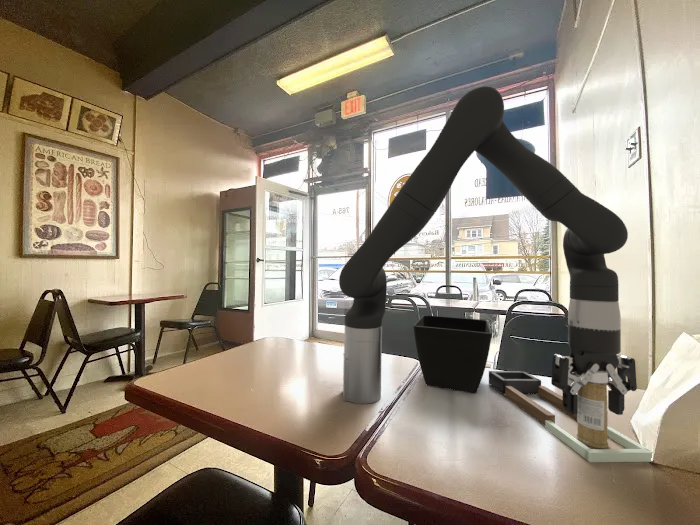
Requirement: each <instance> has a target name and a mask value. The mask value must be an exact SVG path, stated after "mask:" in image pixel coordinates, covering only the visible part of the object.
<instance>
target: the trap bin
mask: <svg viewBox="0 0 700 525" xmlns="http://www.w3.org/2000/svg"><path fill="white" fill-rule="evenodd" d="M488 385H490V386H491V387H492V388H494V389H495V391H498V392H499V393H500V394H501V395H505V386H512V387H513V388H515V389H516V390H518V391H519V392H521V393H522V394H524V395H538V386H542V380H541V379H539V378H538V377H535V376H533V375H532V374H530V373H528V372H526V371H524V370H515V371H514V370H488Z"/></svg>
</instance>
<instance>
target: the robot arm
mask: <svg viewBox="0 0 700 525" xmlns="http://www.w3.org/2000/svg"><path fill="white" fill-rule="evenodd" d="M504 103H505V102H504V99H503V96H502V95H501V93H500V92H499V91H498V90H497V89H496V88H494V87H492V86H490V85H489V86H488V85H487V86H486V85H484V86H478V87H475V88H473V89H471V90H469V91H468V92H466V93H465V94H463V96H462V97H461V98H460V99H459V100H458V101H457V102H456V104H455V106H454V107H453V109H452V111H451V113H450V115H449V117H448V118H447V121H446V122H445V124H444V126H443V128H442V129H441V131H440V133H439V134H438V137H437V138H436V140H435V141H434V143H433V145H432V146H431V147H430V149H429V150H428V152H427V153H426V155H425V156H424V157H423V158H422V159H421V161H420V162H419V163H418V165H417V166H416V167H415V168H414V170H413V172H412V173H411V174H410V176H409V177H408V179H407V180H406V181H405V182H404V184H402V186H401V188H400V189H399V190H398V192H397V194H396V195H395V197H394V198H393V200H392V201H391V203H390V204H389V205H388V208H387V209H386V210H385V211H384V213H383V215H382V216H381V218H380V219H379V221H378V222H377V223H376V225H375V226H374V227H373V229H372V231H370V234H369V235H368V237H367V238H366V239H365V240H364V241H363V243H362V244H361V245H360V246H359V248H358V249H357V250H356V251H355V252H354V253H353V255H352V256H351V257H350V258H349V259H348V260H347V262H346V263H345V264H344V266H343V267H342V269H341V271H340V274H339V278H338V284H339V289H340V291H341V292H342V294H343V295H344V296H346V297H348V298H351V299H353V302H352V305H351V307H350V309H349V310H348V311H347V312H346V313H345V315H344V344H343V345H344V346H343V372H342V373H343V375H342V381H343V382H342V383H343V384H342V395H343V396H342V398H343V401H345V402H346V401H348V402H351V403H355V404H361V405H362V404H372V403H375V402H377V401H379V400H380V399H381V398H382V356H383V355H382V352H383V351H382V350H383V349H382V344H383V341H382V340H383V336H382V335H383V320H384V315H385V313H386V308H387V307H386V304H387V291H388V290H387V289H388V286H387V285H388V284H387V283H388V281H387V274H386V271H385V269H384V267H385V265H386V263H387V262H388V261H389V259H391V257H392V256H393V255H394V254H395V253H397V252H398V251H399V250H400V249H401V248H403V247H404V246H405V245H406V244H408V243H409V242H410V241H412V240H413V239H415V237H416V236H418V234H420V233H421V231H423V229H424V228H425V227H426V226H427V224H428V223H429V222H430V220H431V219H432V218H433V217H434V215H435V213H436V212H437V211H438V209H439V208H440V207H441V205H442V203H443V201H444V200H445V198H446V196H447V194H448V193H449V191H450V189H451V187H452V185H453V183H454V181H455V179H456V177H457V176H458V174H459V172H460V171H461V169H462V167H463V166H464V164H465V163H466V162H467V161H468V159H469V158H470V157H471V156H472V154H473V153H474V152H476V153H477V154H479V156H482V157H483V158H484V159H485V160H486V161H488V162H489V163H490V164H492V165H493V167H495V168H496V169H497V170H499V171H500V173H502V175H504V177H505V178H507V179H508V181H509V182H510V183H511V184H512V185H513V186H514V188H516V189H517V190H518V192H520V193H521V195H522V196H524V198H525V199H526V200H527V201H528V202H529V203H530V204H531V205H532V206H533V207H534V208H535V209H536V210H537V211H538V212H539V213H540V214H541V215H542V216H543V218H546V219H547V220H548V221H551V222H557V223H559V224H561V225H563V226H564V227H565V228H566V230H565V231H564V235H563V238H562V239H563V240H562V247H563V248H562V249H563V255H564V258H565V264H566V267H567V270H568V274H569V304H568V310H567V311H568V312H567V318H568V319H567V328H568V329H567V331H568V332H567V345H568V346H569V348H570V353H569V355H568V356H567V355H565V356H564V355H560V354H558V353H554V354H553V355H552V363H551V364H552V365H551V382H550V383H551V385H552V386H553V387H556V388H557V389H559V390H561V391H562V397H563V407H564V408H565V410H566V411H567V412H569V413H570V414H572V415H577V414H578V395H577V392H578V390H579V389H580V388H581V386H584V385H586V384H587V382H588V381H589V379H590V378H591V377H592V375H593V374H595V373H596V372H597V371H606V372H607V373H608V382H607V387H608V388H609V389H608V390H607V410H608V411H610V412H611V413H613V414H615V415H618V416H619V415H624V411H625V395H627V393H628V392H630V391H632V392H635V391H637V388H638V386H637V385H638V384H637V371H636V370H637V369H636V360H635V359H634V358H633V357H629V356H627V355H623V354H620V353H621V352H622V349H621V347H622V346H621V345H622V344H621V341H622V340H621V334H622V333H621V332H622V330H621V326H622V325H621V319H622V318H621V309H620V305H619V304H620V303H619V287H620V286H619V276H618V274H617V272H616V271H615V270H613V269H611V268H609V267H608V266H607V263H606V258H605V255H607V254H611V253H615V252H617V251H619V250H620V249H622V248H623V247H624V246H625V244H626V243H627V241H628V236H629V234H628V232H629V231H628V229H627V226H626V224H625V223H624V221H623V220H622V219H621V217H620V216H618V215H617V213H615V212H613V211H612V210H610V209H609V208H608V207H606V206H604V205H603V204H602V203H600V202H598V201H597V200H595V199H594V198H591V197H590V196H587V195H585V193H582V191H580V189H578V187H577V186H576V185H574V183H573V182H572V181H570V179H569V178H567V176H565V175H564V174H563V173H562V172H561V171H560V170H559V169H558V168H557V167H555V166H554V165H553V164H552V163H550V162H549V161H548V160H546V159H544V158H543V157H541V156H540V155H538V154H537V153H536V152H533V151H532V150H530V149H529V148H528V147H527V146H525V145H524V144H522V142H521V141H519V140H518V138H516V137H515V136H514V134H512V132H511V131H510V129H509V128H508V127H507V125H506V124H505V122H504V121H503V120H504V116H505V114H504V113H505V104H504ZM576 373H577V374H578V375H581V376H580V377H577V376H576Z"/></svg>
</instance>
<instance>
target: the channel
mask: <svg viewBox="0 0 700 525" xmlns="http://www.w3.org/2000/svg"><path fill="white" fill-rule="evenodd" d="M504 396H505V397H506V398H507V399H508V400H510V401H511V402H512V403H514V404H515V405H516V406H517V407H519V408H520V409H521V410H523V411H525V412H526V413H527V414H528V415H530V416H531V417H532V418H534V419H535V420H537V422H539V423H540V424H542V425H543V426H544V427H545V420H550V421H552V422H553V423H554V424H556V415H555V414H554V413H552V412H551V411H549V410H548V409H546V408H545V407H543V406H541V405H540V404H539V403H537V402H536V401H534V400H533V399H531V398H530V397H528V396H527V395H526V394H522V393H521V392H519V391H518V390H516V389H515V388H513V387H512V386H505V394H504ZM537 396H538V397H539V398H540V399H542V400H544V401H545V402H547V403H548V404H550V405H551V406H553V407H554V408H556V409H558V410H560V411H561V412H563V413H564V414H566V415H568V416H569V417H571V418H572V419H573V420H575V421H577V415H572V414H570V413H569V412H567V411H566V410H565V408H564V407H563V395H561V394H559V393H557V392H556V391H554V390H551V389H550V388H548V387H546V386H544V385H541V386H538V394H537Z"/></svg>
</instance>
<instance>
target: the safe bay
mask: <svg viewBox="0 0 700 525" xmlns="http://www.w3.org/2000/svg"><path fill="white" fill-rule="evenodd" d="M544 428H545V429H546V430H547V431H549V433H551V434H552V435H554V436H555V437H557V439H559V440H561V442H563V443H564V444H566V446H568V447H570V448H571V449H572V450H573V451H575V452H576V453H577V454H579V455H580V456H582V457H583V459H585V460H587V462H589V463H650V462H651V458H652V453H653V452H654V451H652V450H650V449H649V448H647V447H645V446H643V445H642V444H640V443H638V442H637V441H635V440H633V439H631V437H628V436H626V435H625V434H622V432H619V431H618V430H617V429H614V428H612V427H611V426H609V425H608V428H607V438H609V439H610V440H613V442H615V443H618V445H620V446H622V447H624V448H603V449H600V448H594V449H593V448H592V449H591V447H588V445H586V444H584V443H582V442H581V441H580V440H579V439H578V438H575V437H574V436H572V435H571V434H570V433H568V432H567V431H566V430H564V429H563V428H562V427H560V426H558V425H557V424H556V423H555V424H554V423H553V422H552V421H550V420H545V426H544Z"/></svg>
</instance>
